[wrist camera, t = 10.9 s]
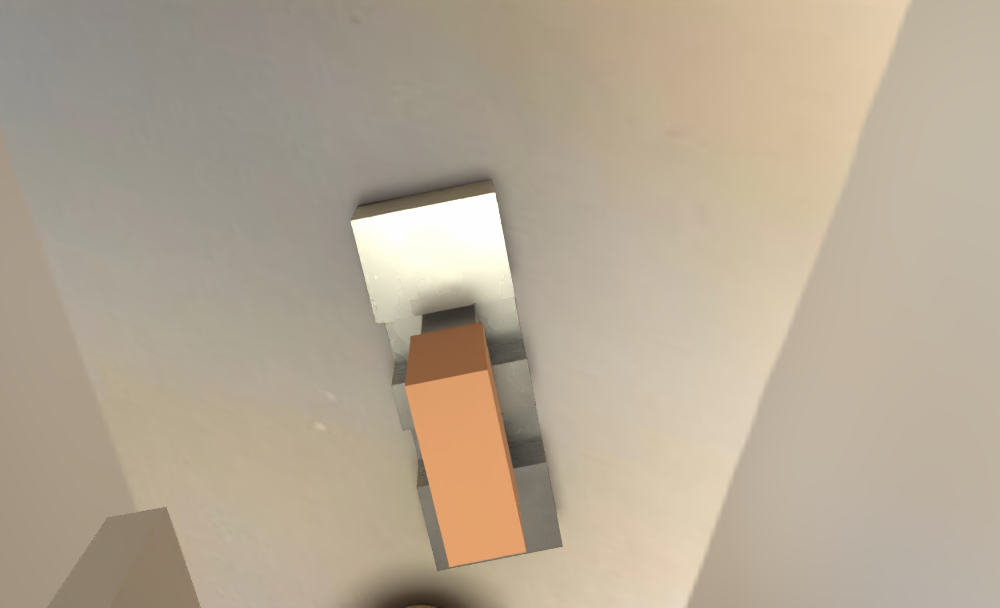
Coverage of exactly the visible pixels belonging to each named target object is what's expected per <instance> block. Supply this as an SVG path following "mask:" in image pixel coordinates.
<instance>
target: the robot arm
mask: <svg viewBox="0 0 1000 608" xmlns="http://www.w3.org/2000/svg"><path fill="white" fill-rule="evenodd" d="M47 608H201V607H200V604H199V601H198V598H197V595H196V592H195V589H194V586H193V583H192V580H191V577H190V574H189V572H188V569H187V566H186V563H185V560H184V557H183V554H182V551H181V548H180V545H179V542H178V539H177V536H176V533H175V531H174V528H173V525H172V522H171V519H170V516H169V513H168V510H167V507H163V508H158V509H152V510H147V511H141V512H136V513H131V514H125V515H119V516H114V517H109V518H107V519H106V521H105V522H104V524H103V525H102V526H101V528H100V529H99V531H98V533H97V534H96V535H95V537H94V538H93V540H92V541H91V543H90V544H89V546H88V547H87V549H86V550H85V552H84V553H83V555H82V556H81V558H80V559H79V561H78V562H77V564H76V565H75V567H74V568H73V570H72V571H71V573H70V574H69V576H68V577H67V579H66V580H65V582H64V583H63V585H62V586H61V588H60V589H59V590H58V592H57V593H56V595H55V597H54V598H53V599H52V601H51V602H50V604H49V605H48V607H47Z"/></svg>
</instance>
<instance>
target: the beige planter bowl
mask: <svg viewBox="0 0 1000 608" xmlns="http://www.w3.org/2000/svg"><path fill="white" fill-rule="evenodd" d="M405 608H438V607H434V606H430V605H414V606H409V607H405Z"/></svg>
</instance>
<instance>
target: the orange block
mask: <svg viewBox="0 0 1000 608" xmlns="http://www.w3.org/2000/svg"><path fill="white" fill-rule="evenodd" d="M405 389H406V393H407V397H408V401H409V405H410V410H411V414H412V418H413V422H414V426H415V430H416V434H417V438H418V442H419V446H420V450H421V454H422V458H423V462H424V466H425V470H426V474H427V478H428V482H429V486H430V490H431V494H432V498H433V502H434V506H435V510H436V514H437V518H438V522H439V526H440V531H441V535H442V539H443V543H444V547H445V551H446V555H447V559H448V563H449V567H453V566H458V565H463V564H468V563H473V562H478V561H483V560H488V559H493V558H498V557H503V556H508V555H513V554H518V553H523V552H526V547H525V540H524V533H523V526H522V519H521V513H520V506H519V499H518V492H517V485H516V480H515V475H514V471H513V466H512V461H511V456H510V452H509V447H508V442H507V437H506V433H505V428H504V423H503V418H502V414H501V409H500V404H499V399H498V395H497V390H496V385H495V380H494V376H493V371H492V366H491V362H490V357H489V352H488V347H487V343H486V338H485V333H484V328H483V324H482V322H478V319H477V314H476V309H475V304H474V305H469V306H464V307H459V308H454V309H449V310H444V311H438V312H433V313H428V314H423V315H422V327H421V334H418V335H413V336H411V337H410V346H409V354H408V363H407V371H406V380H405Z"/></svg>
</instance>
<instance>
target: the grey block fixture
mask: <svg viewBox="0 0 1000 608" xmlns="http://www.w3.org/2000/svg"><path fill="white" fill-rule="evenodd" d="M351 224H352V228H353V232H354V236H355V240H356V244H357V248H358V252H359V256H360V260H361V264H362V269H363V273H364V277H365V281H366V285H367V289H368V293H369V297H370V301H371V305H372V309H373V313H374V317H375V321H376V324H377V323H382V322H385V325H386V329H387V333H388V337H389V341H390V345H391V349H392V353H393V357H394V361H395V366H394V373H393V379H392V389H393V393H394V398H395V402H396V406H397V410H398V414H399V418H400V422H401V426H402V430H403V431H404V430H410V429H411V431H412V435H413V439H414V443H415V447H416V451H417V455H418V460H419V463H418V478H417V490H418V494H419V498H420V502H421V506H422V510H423V514H424V518H425V522H426V527H427V531H428V535H429V539H430V543H431V547H432V551H433V555H434V559H435V563H436V567H437V571H440V570H445V569H450V568H455V567H460V566H465V565H470V564H476V563H481V562H486V561H491V560H496V559H501V558H506V557H512V556H517V555H522V554H527V553H532V552H537V551H542V550H548V549H553V548H558V547H563V545H562V540H561V535H560V530H559V525H558V519H557V514H556V509H555V504H554V498H553V493H552V488H551V483H550V477H549V472H548V467H547V462H546V457H545V453H544V448H543V444H542V439H541V435H540V429H539V424H538V419H537V414H536V408H535V405H536V404H535V399H534V394H533V388H532V383H531V378H530V373H529V367H528V362H527V357H526V353H525V349H524V344H523V340H522V335H521V330H520V325H519V319H518V314H517V309H516V304H515V299H514V297H515V294H514V289H513V284H512V278H511V273H510V268H509V263H508V257H507V252H506V247H505V242H504V236H503V231H502V226H501V221H500V215H499V210H498V205H497V200H496V194H495V190H494V187H493V183H492V179H491V180H486V181H481V182H476V183H471V184H466V185H461V186H456V187H451V188H446V189H441V190H435V191H430V192H425V193H420V194H415V195H410V196H405V197H400V198H395V199H390V200H385V201H380V202H374V203H369V204H364V205H359V206H358V207H357V209H356V211H355V213H354V215H353V217H352V219H351ZM474 304H475V309H476V314H477V319H478V322H482V324H483V328H484V333H485V338H486V343H487V347H488V352H489V357H490V362H491V366H492V371H493V376H494V380H495V385H496V390H497V395H498V399H499V404H500V409H501V414H502V418H503V423H504V428H505V433H506V437H507V442H508V447H509V452H510V456H511V461H512V466H513V471H514V475H515V480H516V485H517V492H518V499H519V506H520V513H521V519H522V526H523V533H524V540H525V547H526V552H523V553H518V554H513V555H508V556H503V557H498V558H493V559H488V560H483V561H478V562H473V563H468V564H463V565H458V566H453V567H449V563H448V559H447V555H446V551H445V547H444V543H443V539H442V535H441V531H440V526H439V522H438V518H437V514H436V510H435V506H434V502H433V498H432V494H431V490H430V486H429V482H428V478H427V474H426V470H425V466H424V462H423V458H422V454H421V450H420V446H419V442H418V438H417V434H416V430H415V426H414V422H413V418H412V414H411V410H410V405H409V401H408V397H407V393H406V389H405V380H406V371H407V363H408V354H409V346H410V337H411V336H413V335H418V334H421V327H422V315H423V314H428V313H433V312H438V311H444V310H449V309H454V308H459V307H464V306H469V305H474Z"/></svg>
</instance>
